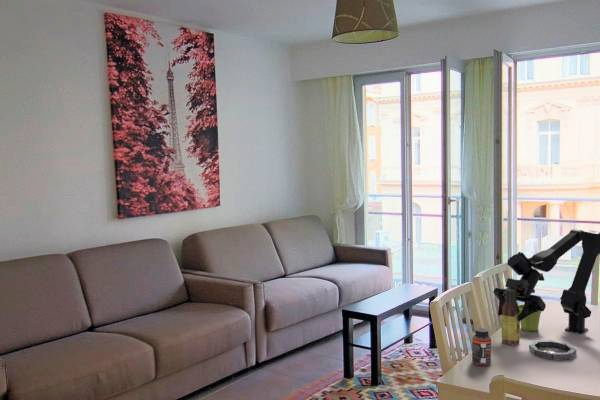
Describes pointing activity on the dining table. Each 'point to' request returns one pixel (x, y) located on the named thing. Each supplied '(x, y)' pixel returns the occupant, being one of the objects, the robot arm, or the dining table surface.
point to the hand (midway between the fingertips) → (508, 317)
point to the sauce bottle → (510, 318)
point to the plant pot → (530, 320)
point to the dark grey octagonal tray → (552, 350)
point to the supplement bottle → (481, 347)
